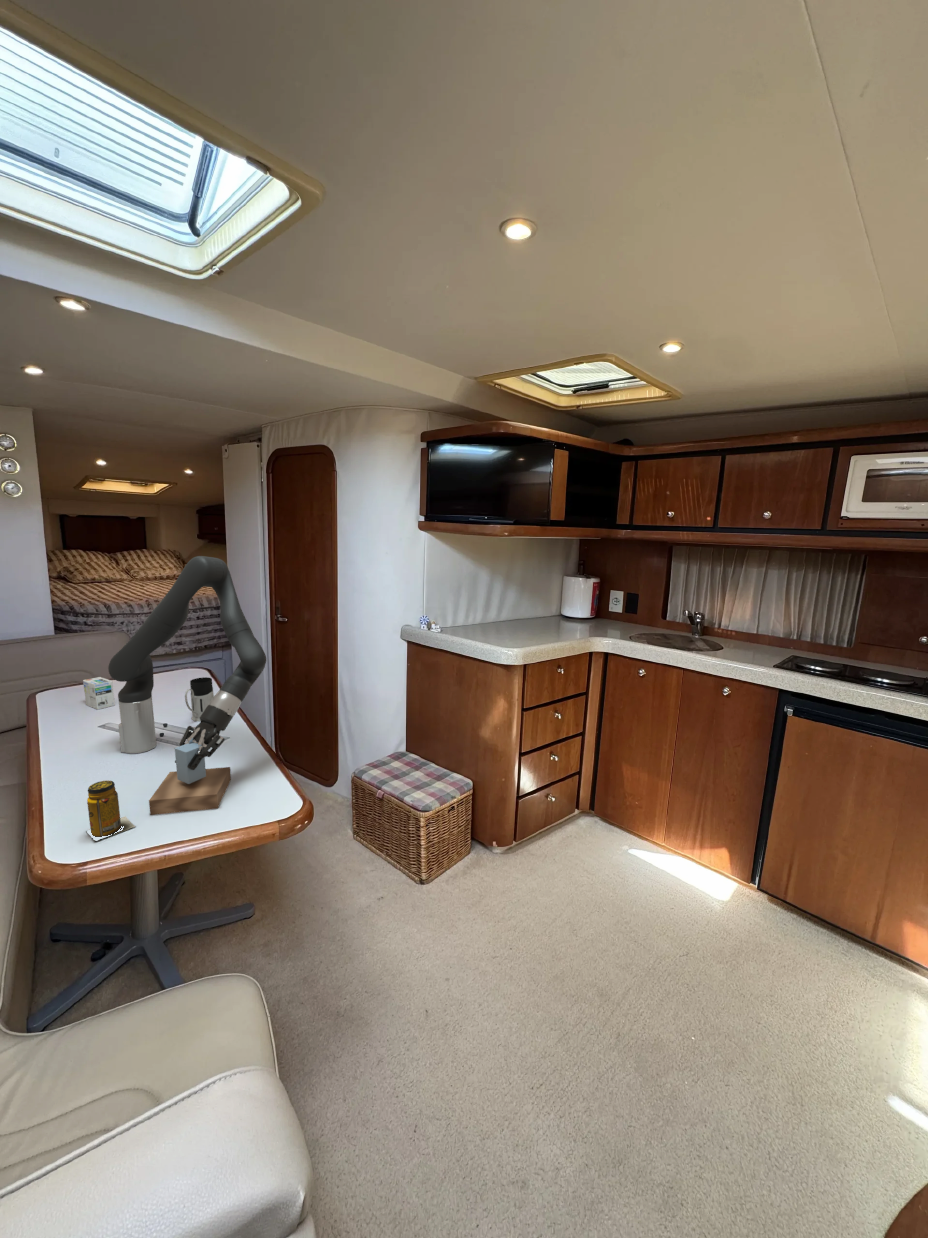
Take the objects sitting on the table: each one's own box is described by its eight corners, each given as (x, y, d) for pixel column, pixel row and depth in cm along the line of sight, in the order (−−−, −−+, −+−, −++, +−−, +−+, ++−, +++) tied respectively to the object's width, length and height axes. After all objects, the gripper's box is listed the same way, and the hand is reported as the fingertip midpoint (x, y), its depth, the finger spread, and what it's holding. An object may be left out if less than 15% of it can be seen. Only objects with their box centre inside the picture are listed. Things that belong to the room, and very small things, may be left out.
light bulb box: (115, 705, 210) (112, 680, 209) (97, 710, 205) (94, 684, 203) (103, 700, 216) (100, 676, 214) (85, 705, 210) (82, 679, 209)
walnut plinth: (150, 815, 131) (148, 800, 130) (171, 785, 146) (169, 771, 146) (217, 808, 134) (216, 794, 134) (231, 779, 150) (230, 767, 149)
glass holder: (221, 713, 202) (218, 677, 200) (199, 727, 189) (196, 688, 186) (200, 712, 203) (197, 676, 201) (176, 726, 189) (173, 687, 187)
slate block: (188, 784, 136) (186, 752, 135) (177, 779, 139) (174, 748, 137) (206, 776, 140) (203, 745, 139) (194, 772, 143) (192, 741, 141)
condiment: (85, 831, 124) (79, 785, 122) (125, 817, 130) (120, 772, 128) (94, 843, 119) (89, 795, 117) (135, 827, 126) (131, 782, 123)
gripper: (196, 699, 146) (157, 755, 138) (228, 708, 139) (190, 767, 131) (214, 711, 152) (178, 765, 143) (246, 721, 145) (210, 778, 136)
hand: (184, 766), depth 137 cm, fingers closed on slate block, 4 cm apart
